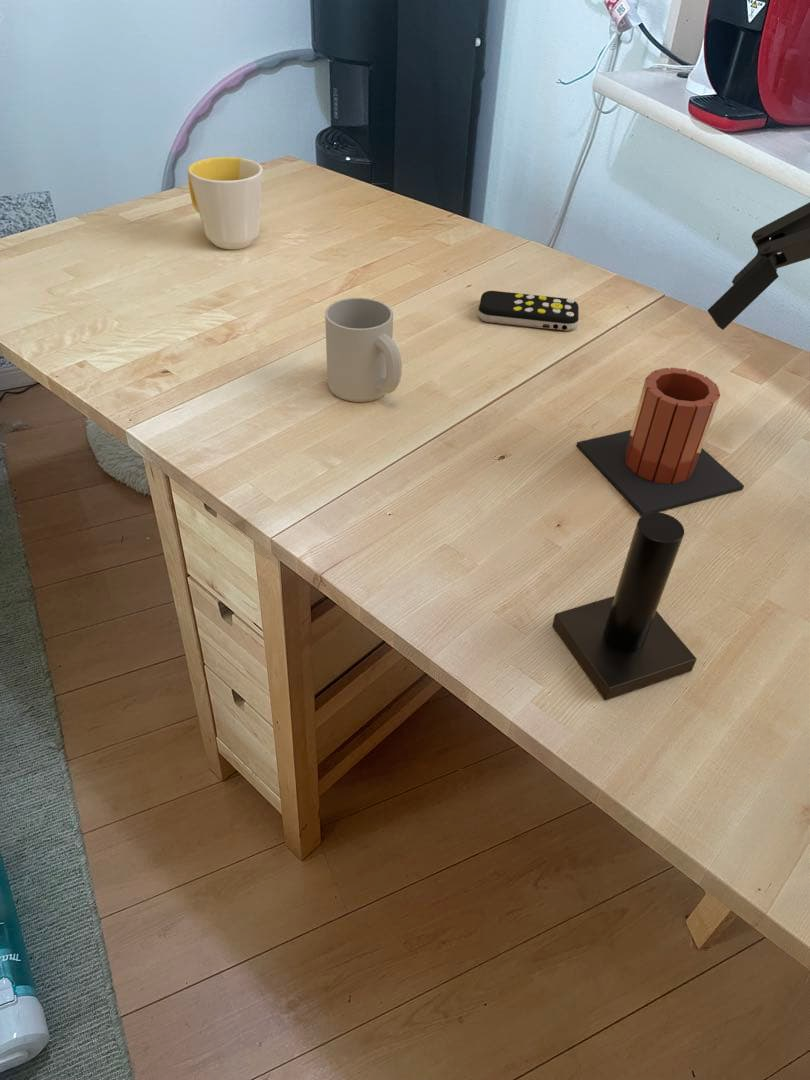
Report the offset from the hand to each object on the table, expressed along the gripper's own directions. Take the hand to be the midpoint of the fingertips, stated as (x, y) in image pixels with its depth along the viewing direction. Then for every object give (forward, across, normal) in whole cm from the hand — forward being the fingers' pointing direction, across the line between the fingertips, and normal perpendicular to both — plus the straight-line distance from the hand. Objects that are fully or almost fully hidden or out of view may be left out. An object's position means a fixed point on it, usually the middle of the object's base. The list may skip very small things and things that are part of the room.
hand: (764, 356), depth 70 cm
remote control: (+11, +38, -10) cm, 41 cm away
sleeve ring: (+12, +5, -8) cm, 16 cm away
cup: (+29, +28, +8) cm, 41 cm away
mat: (+13, +5, -8) cm, 16 cm away
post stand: (+25, -14, +4) cm, 29 cm away
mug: (+33, +74, +12) cm, 82 cm away
